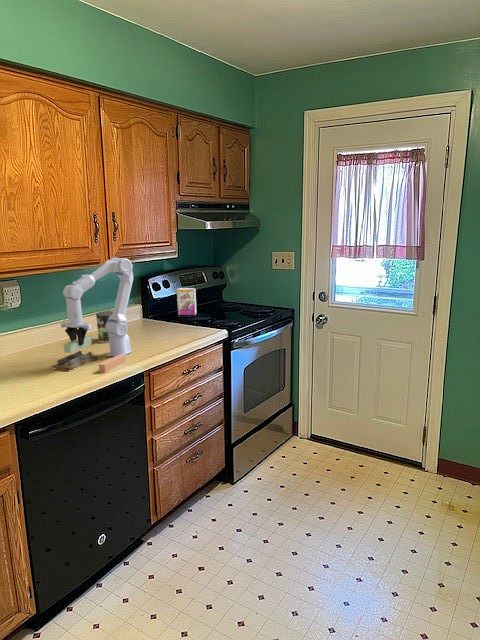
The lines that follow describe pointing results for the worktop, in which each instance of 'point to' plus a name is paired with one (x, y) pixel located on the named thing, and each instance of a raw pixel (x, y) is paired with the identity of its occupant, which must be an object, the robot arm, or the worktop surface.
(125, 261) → the robot arm
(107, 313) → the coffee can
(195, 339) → the worktop surface
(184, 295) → the candy bar box
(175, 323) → the worktop surface
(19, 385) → the worktop surface
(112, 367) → the bar
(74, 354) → the cradle
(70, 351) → the block
